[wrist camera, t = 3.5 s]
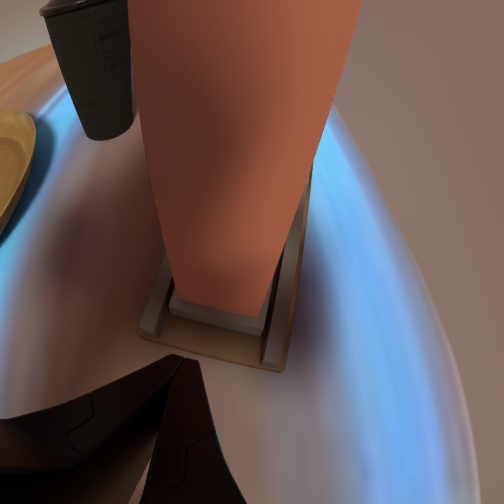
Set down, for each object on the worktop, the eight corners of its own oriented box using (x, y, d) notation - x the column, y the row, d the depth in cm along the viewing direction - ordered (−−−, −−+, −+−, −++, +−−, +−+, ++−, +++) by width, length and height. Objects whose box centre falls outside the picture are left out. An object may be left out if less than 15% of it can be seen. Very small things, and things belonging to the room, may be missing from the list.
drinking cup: (112, 98, 28) (95, -72, 11) (163, 114, 27) (159, -88, 10) (58, 137, 24) (16, -50, 7) (105, 161, 23) (66, -78, 6)
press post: (260, 335, 16) (395, 7, 3) (171, 314, 16) (91, -20, 3) (276, 255, 18) (360, -22, 6) (197, 237, 19) (194, -45, 6)
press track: (280, 373, 16) (298, 358, 13) (140, 337, 16) (120, 313, 13) (310, 169, 24) (322, 131, 21) (214, 148, 25) (216, 109, 21)
